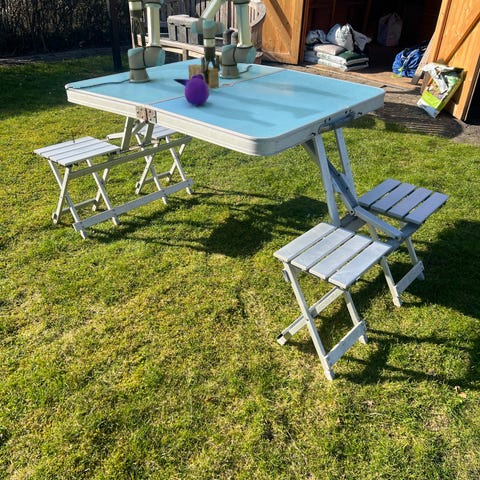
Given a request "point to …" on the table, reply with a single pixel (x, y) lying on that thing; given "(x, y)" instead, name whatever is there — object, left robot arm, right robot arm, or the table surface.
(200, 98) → the toy
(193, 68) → the box
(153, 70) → the table surface
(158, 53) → the left robot arm
